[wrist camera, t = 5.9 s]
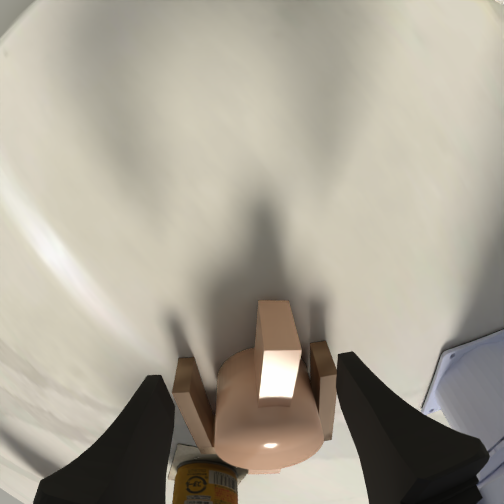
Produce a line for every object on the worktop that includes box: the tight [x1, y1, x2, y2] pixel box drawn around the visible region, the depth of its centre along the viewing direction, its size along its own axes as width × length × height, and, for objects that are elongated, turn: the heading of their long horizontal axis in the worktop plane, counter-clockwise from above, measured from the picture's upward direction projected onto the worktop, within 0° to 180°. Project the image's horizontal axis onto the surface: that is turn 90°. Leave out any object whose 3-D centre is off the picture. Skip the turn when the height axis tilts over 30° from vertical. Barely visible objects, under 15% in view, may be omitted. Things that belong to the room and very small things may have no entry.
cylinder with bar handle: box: [214, 300, 324, 474], centre depth 17 cm, size 11×6×6 cm, turn 177°
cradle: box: [172, 341, 337, 454], centre depth 19 cm, size 9×7×3 cm
